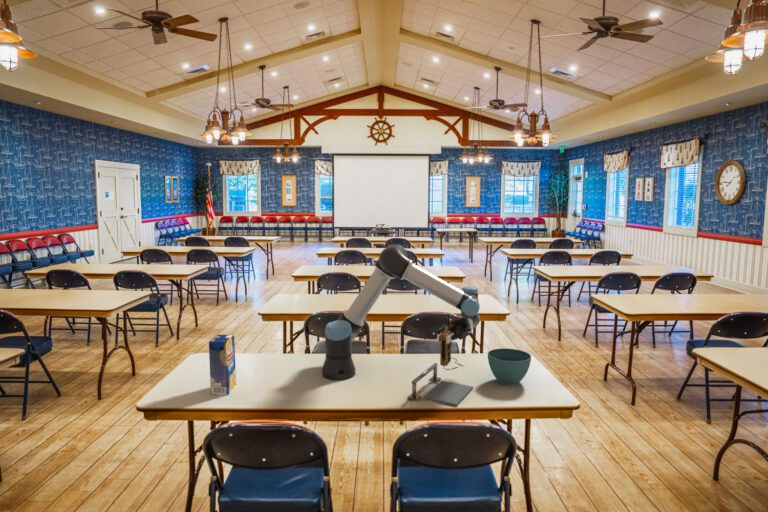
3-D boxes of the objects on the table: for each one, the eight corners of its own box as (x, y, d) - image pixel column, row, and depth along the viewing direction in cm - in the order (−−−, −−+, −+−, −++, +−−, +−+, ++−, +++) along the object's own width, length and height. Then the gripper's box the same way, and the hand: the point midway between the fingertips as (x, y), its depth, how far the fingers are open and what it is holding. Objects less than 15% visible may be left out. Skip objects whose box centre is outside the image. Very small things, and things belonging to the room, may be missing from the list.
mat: (423, 399, 196) (423, 397, 196) (441, 382, 214) (441, 380, 214) (456, 406, 190) (456, 404, 190) (473, 388, 207) (473, 386, 207)
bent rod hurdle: (407, 399, 196) (407, 380, 195) (432, 378, 219) (432, 361, 218) (416, 401, 194) (416, 382, 193) (441, 380, 217) (441, 362, 216)
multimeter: (462, 372, 192) (463, 321, 189) (437, 369, 195) (438, 319, 193) (470, 360, 206) (471, 313, 203) (446, 357, 209) (447, 311, 207)
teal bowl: (478, 382, 215) (479, 354, 213) (500, 371, 228) (501, 345, 227) (517, 393, 203) (518, 364, 201) (537, 381, 216) (538, 354, 214)
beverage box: (236, 384, 211) (234, 334, 208) (227, 395, 200) (225, 342, 198) (220, 384, 211) (218, 334, 209) (210, 395, 200) (208, 342, 198)
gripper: (479, 336, 215) (462, 351, 194) (444, 331, 222) (423, 345, 202) (480, 319, 214) (462, 332, 193) (444, 315, 221) (423, 327, 201)
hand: (442, 339), depth 197 cm, fingers closed on multimeter, 3 cm apart
